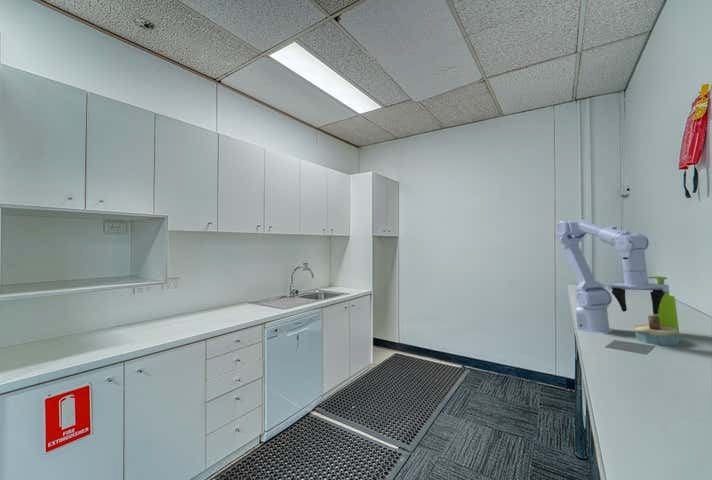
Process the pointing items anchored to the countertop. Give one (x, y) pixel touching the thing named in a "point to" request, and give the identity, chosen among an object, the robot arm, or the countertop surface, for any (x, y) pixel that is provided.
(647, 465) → the countertop surface
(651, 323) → the lid
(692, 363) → the countertop surface
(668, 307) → the soap dispenser
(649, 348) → the mat
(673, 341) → the bowl
